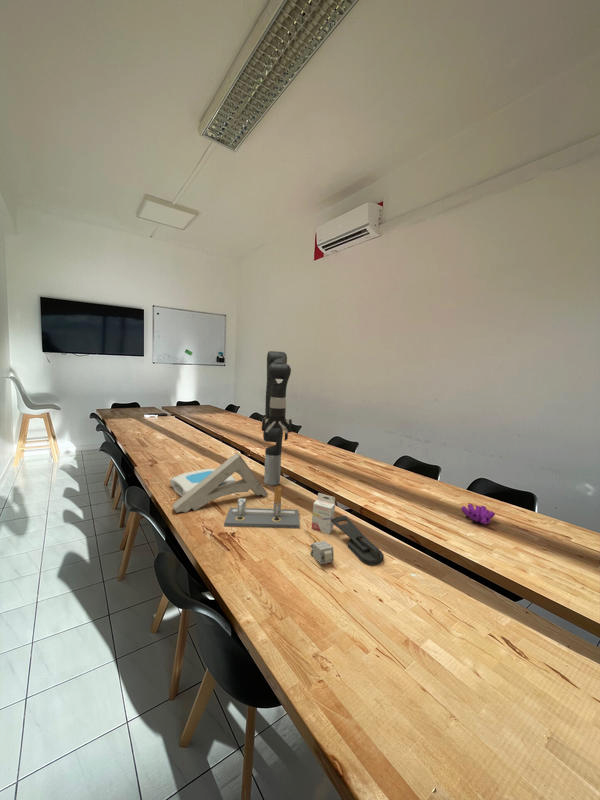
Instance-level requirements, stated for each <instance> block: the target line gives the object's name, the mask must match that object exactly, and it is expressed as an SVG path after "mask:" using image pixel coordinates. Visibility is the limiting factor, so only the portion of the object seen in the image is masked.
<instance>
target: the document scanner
mask: <svg viewBox="0 0 600 800" xmlns="http://www.w3.org/2000/svg"><path fill="white" fill-rule="evenodd" d="M215 469H216V468H203V469H198V470H192V471H189V472H184V473H181V474H178V475H176V476H174V477H172V478H170V480H169V481H170V482H169V483H170V484H169V485H170V486H171V487H172V488H173V490H174V492H175V493H176V494H178V495H179V496H180V497H182V496H183V495H185V494H186V493H187V492H188V491H190V490H191V489H192V488H193V487H195V486H196V485H197V484H198V483H199V482H201V481H202V480H203V479H204V478H206V477H207V476H208V475H209V474H211V473H212V472H213V471H214V470H215ZM235 481H236V479H235V477H233V475H231V476H230V477H228V478H227V479H226V480H225V481H224V482H222V483H221V484H220V486H222V485H225V484H229V483H232V482H235Z"/></svg>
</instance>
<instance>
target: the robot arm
mask: <svg viewBox="0 0 600 800" xmlns="http://www.w3.org/2000/svg"><path fill="white" fill-rule="evenodd" d="M291 373H292V369H291V366H290V365H289V364H288V355H287V353H286V352H284V351H274V350H273V351H272V350H270V351H268V352H267V355H266V386H265V409H264V411H265V414H264V417H263V418H262V423H261V431H262V432H263V435H262V439H263V440H264V442H266V443H267V442H268V443H275V445H272V446H267V447H266V448H265V450H264V451H265V453H264V473H263V474H264V476H263V481H264V482H263V483H264V484H266V485H268V486H269V485H270V486H276V485H279V484H280V483H281V471H282V470H281V468H282V466H281V465H282V451H283V450H282V449H283V448H282V445H283V436H284V442H286V441H287V440H288V438H289V433H292V431H293V427H292V426H293V425H292V423H293V421H292V418H288V419H287V418H286V413H287V410H286V409H287V398H286V397H287V387H288V386H287V385H288V382H289V379H290V377H291ZM277 380H282V381H281V382H278V381H277ZM285 424H288V425H289V426H288V428H289V429H288V428H287V427H286V426H285Z"/></svg>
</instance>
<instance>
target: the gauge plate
mask: <svg viewBox="0 0 600 800" xmlns="http://www.w3.org/2000/svg"><path fill="white" fill-rule="evenodd" d="M246 500H247V498H238V500H237V507H229V510H228V512H227V515H226V517H225V519H224V523H223V526H224V527H239V528H241V527H242V528H243V527H246V528H250V527H251V528H274V529H275V528H276V529H278V528H280V529H281V528H282V529H300V528H301V527H300V515H299V514H300V513H299V511H300V510H299V509H292V508H291V509H288V508H286V509H285V508H284V509H283V508H281V513H278V518H277V519H276V513H273V510H274V508H257V507H256V508H255V507H254V508H251V507H247V506H246V505H247V501H246Z"/></svg>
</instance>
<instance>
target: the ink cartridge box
mask: <svg viewBox="0 0 600 800" xmlns="http://www.w3.org/2000/svg"><path fill="white" fill-rule="evenodd" d="M312 505H313V506H312V513H311V514H312V518H311V529H313V530H315V531H319V532H322V533H324V534H327V535H328V534H329V535H330V534H331V533H332V532H333V530H334V526H335V524H334V523H333V522H331V520H332V519H334V518H335V510H336V497H335V496H331V495H328V494H326V493H325V494H324V493H320V492H318V493H317V499H316V500H315V501H314V502H313V503H312Z"/></svg>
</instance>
